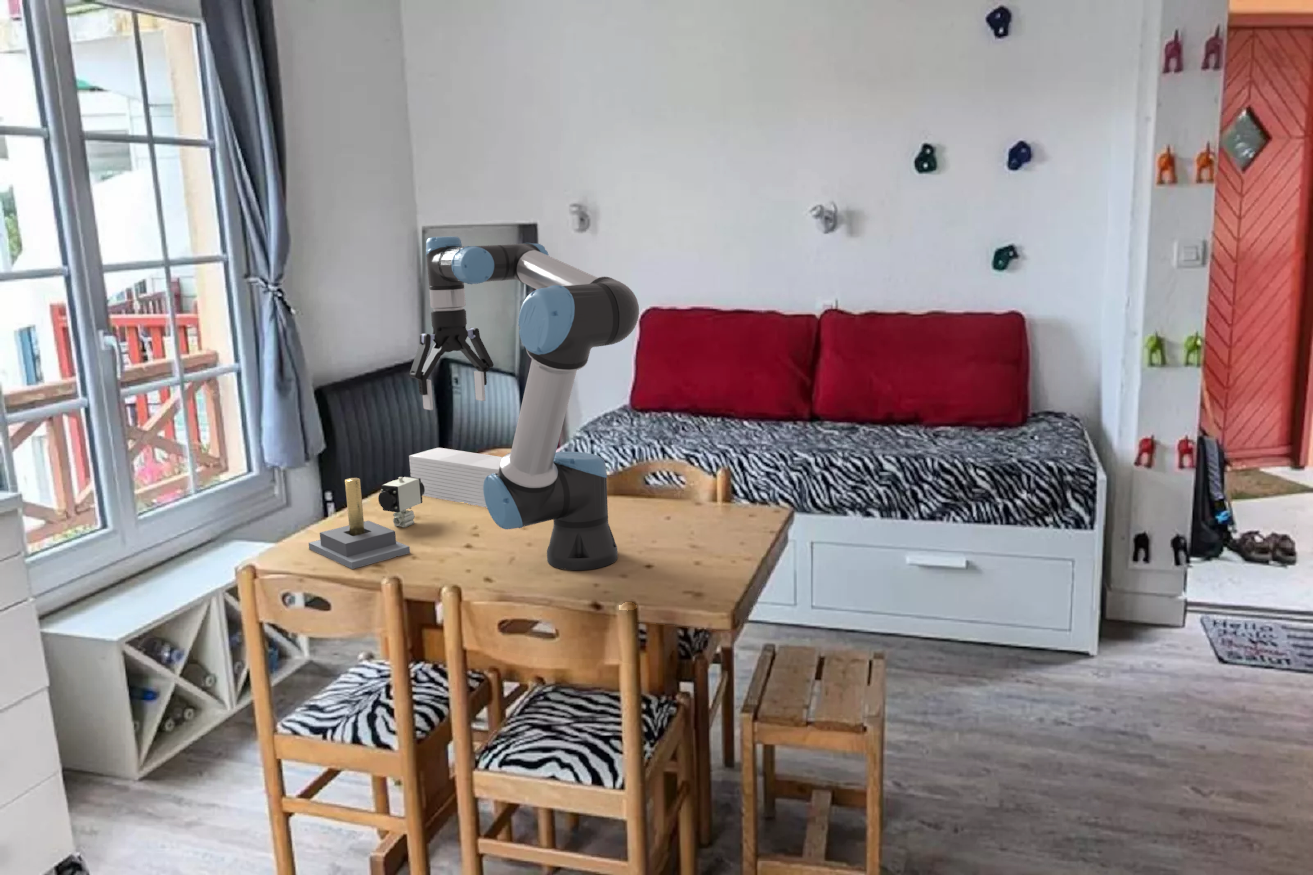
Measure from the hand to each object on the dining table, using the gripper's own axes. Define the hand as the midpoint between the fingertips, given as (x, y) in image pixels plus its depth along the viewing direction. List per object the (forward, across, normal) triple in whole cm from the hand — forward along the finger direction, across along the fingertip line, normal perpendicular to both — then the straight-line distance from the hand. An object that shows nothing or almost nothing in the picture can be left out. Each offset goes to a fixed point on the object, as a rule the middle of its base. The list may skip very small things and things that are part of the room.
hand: (455, 404), depth 230 cm
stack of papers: (+32, -22, -31) cm, 50 cm away
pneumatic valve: (+32, +3, -22) cm, 39 cm away
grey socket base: (+32, +20, -12) cm, 39 cm away
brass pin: (+30, +20, -12) cm, 38 cm away
